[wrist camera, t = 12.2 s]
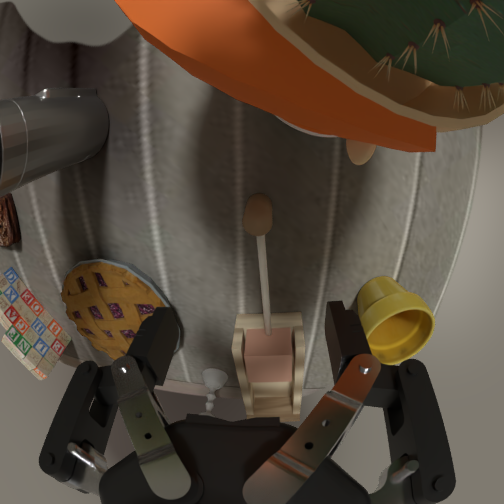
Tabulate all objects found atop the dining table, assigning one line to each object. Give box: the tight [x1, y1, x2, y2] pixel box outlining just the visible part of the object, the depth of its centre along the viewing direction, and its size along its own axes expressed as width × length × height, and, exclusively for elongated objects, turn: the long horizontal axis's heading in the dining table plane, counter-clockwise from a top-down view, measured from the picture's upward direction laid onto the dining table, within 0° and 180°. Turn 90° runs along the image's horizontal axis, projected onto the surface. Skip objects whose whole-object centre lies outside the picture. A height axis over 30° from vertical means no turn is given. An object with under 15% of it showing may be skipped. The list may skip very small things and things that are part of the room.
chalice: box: [199, 368, 228, 418], centre depth 40 cm, size 7×7×18 cm
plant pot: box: [357, 276, 435, 365], centre depth 32 cm, size 10×10×10 cm
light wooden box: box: [232, 312, 305, 422], centre depth 40 cm, size 20×9×8 cm, turn 5°
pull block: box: [242, 193, 292, 382], centre depth 32 cm, size 24×6×6 cm, turn 5°
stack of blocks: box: [0, 267, 72, 380], centre depth 39 cm, size 21×6×12 cm, turn 33°
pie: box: [61, 259, 180, 360], centre depth 39 cm, size 22×22×5 cm
